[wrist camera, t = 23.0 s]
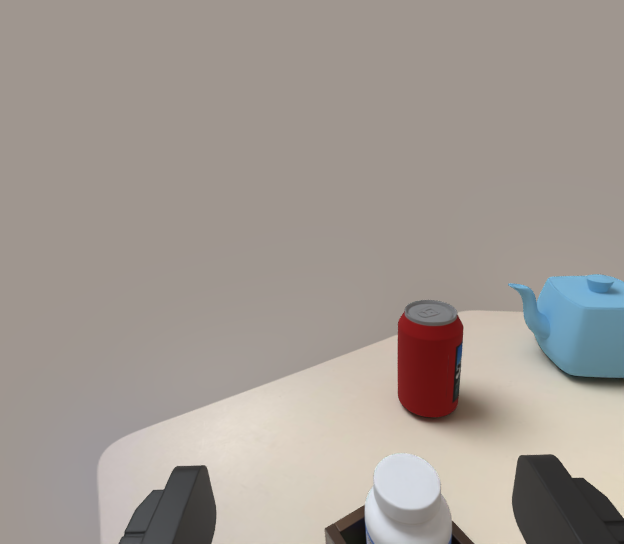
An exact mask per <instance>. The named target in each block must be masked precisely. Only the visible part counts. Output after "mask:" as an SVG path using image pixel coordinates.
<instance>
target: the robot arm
mask: <svg viewBox="0 0 624 544" xmlns="http://www.w3.org/2000/svg"><path fill="white" fill-rule="evenodd" d="M512 506H513V512H514V516H515V519H516V522H517V525H518V527H519V529H520V531H521V533H522V535H523V537H524V540H525V542H526V544H624V518H623V517H622V516H621V514H620V513H619V512H618V511H617V509H616V508H615V507H614V505H613V504H612V503H611V502H610V500H609V499H608V498H607V497H606V496H605V495H604V494H602V493H601V492H600V491H599V490H597V489H596V488H595V487H594V486H592V485H591V484H590V483H589V482H587V481H586V480H585V479H584V478H572V477H571V476H570V474H569V473H568V471H567V470H566V469H565V467H564V466H563V465H562V463H561V462H560V461H559V459H558V458H557V457H556V456H554V455H551V454H548V455H521V456H519V458H518V461H517V468H516V475H515V481H514V488H513V495H512ZM215 525H216V505H215V500H214V496H213V492H212V487H211V483H210V478H209V474H208V470H207V467H206V466H205V465H202V466H177V467H175V468H174V470H173V471H172V473H171V475H170V477H169V480H168V482H167V484H166V486H165V489H164V490H153V491H152V492H151V493H150V494H149V495H148V496H147V497H146V499H145V500H144V501H143V502H142V503H141V504H140V505H139V506H138V507H137V509H136V510H135V512H134V514H133V516H132V518H131V520H130V522H129V524H128V526H127V528H126V530H125V534H124V537H122V538H121V540H120V542H119V544H211V543H212V539H213V535H214V531H215Z"/></svg>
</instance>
